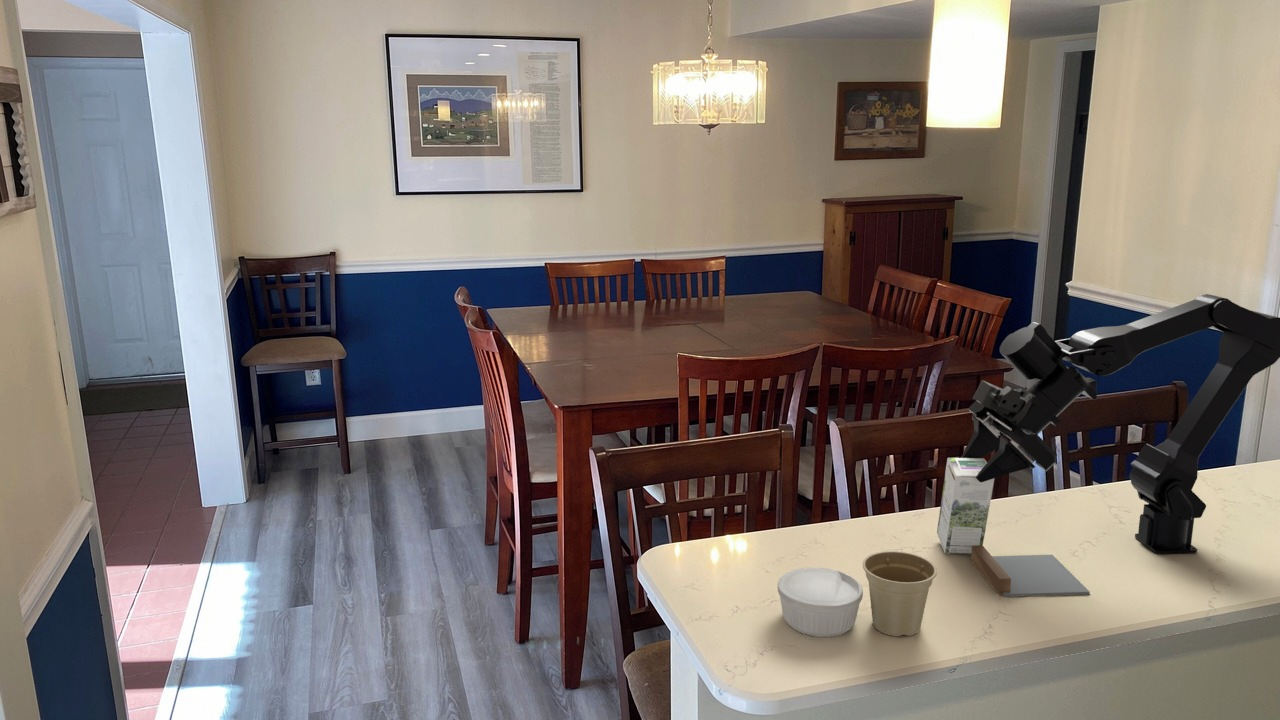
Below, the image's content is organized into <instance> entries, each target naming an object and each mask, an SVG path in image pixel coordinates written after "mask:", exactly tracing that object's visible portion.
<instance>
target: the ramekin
mask: <svg viewBox="0 0 1280 720" xmlns="http://www.w3.org/2000/svg"><path fill="white" fill-rule="evenodd" d="M777 592H778V595H779V599H780V600H779V601H780V605H781V610H782V615H783V619H784V620H785V622H786V623H787V624H788V625H789V626H790V627H791V628H792V629H793V628H794V630H795V631H796V630H797V631H796V632H798V631H799V633H800V632H801V633H800V634H803V635H806V634H807V636H810V637H817V638H831V637H830V636H832V637H836V635H837V636H840V634H841V635H843V634H845V633H847V632H849V631H850V629H852V628H853V627H854V626H855V624H856V621H857V616H858V613H859V609H860V604H861V602H862V600H863V595H864V589H863V586H862V585H861V583H860V582H859V581H858V580H857V579H856V578H855V577H853V576H851V575H850V574H847V573H845V572H843V571H839V570H837V569H832V568H828V567H827V568H826V567H814V566H813V567H803V568H797V569H793V570H790V571H788V572H786V573H784V574H783V575H782V576H781V577H779V579H778V582H777Z"/></svg>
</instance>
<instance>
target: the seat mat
mask: <svg viewBox="0 0 1280 720" xmlns="http://www.w3.org/2000/svg"><path fill="white" fill-rule="evenodd" d="M991 556H992V555H991ZM992 557H993V558H994V559H995V560H996V562H997V563H998V564H999V565H1000V566H1001V567H1002V569H1003V570H1004V571H1005V572H1006V573H1007V574H1008V576H1009V577H1010V578H1011V587H1010V592H1003V595H1002V596H1003V597H1006V598H1009V597H1040V596H1043V597H1044V596H1047V597H1048V596H1076V595H1077V596H1078V595H1081V596H1082V595H1090V593H1091V591H1090V590H1089V589H1088V588H1087V587H1086V586H1085V585H1084V584H1083V583H1081V581H1079V579H1078V578H1076V577H1075V575H1074V574H1073V573H1072V572H1070V571H1069V569H1068V568H1067V567H1065V566H1064V564H1062V563H1061V561H1060V560H1059V559H1057V557H1055V556H1054V555H1053V554H1030V555H1029V554H1023V555H1022V554H1021V555H996V556H995V555H993V556H992Z"/></svg>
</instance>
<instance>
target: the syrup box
mask: <svg viewBox="0 0 1280 720" xmlns="http://www.w3.org/2000/svg"><path fill="white" fill-rule="evenodd" d="M987 462H988V461H987V460H986V459H985V458H984V457H982V458H961V457H947V461H946V465H945V472H944V481H943V487H942V495H941V501H940V508H939V516H938V520H937V522H938V523H937V528H936V534H937V537H938V539H939V542H940V545H941V547H942V549H943V552H944V554H946V555H966V556H967V555H969V556H970V555H971V554H972V546H975V545H983V546H984V540H985V535H986V530H987V529H986V528H987V522H988V516H989V512H990V507H991V500H992V496H993V491H994V490H993V489H994V482H995V478H993V479H990V480H987V481H984V482H979V481H978V480H977V479H976V476H977V475H978V473H979V472H980V471H981V469H982V468H983V467H984V466H985V465H986V464H987Z"/></svg>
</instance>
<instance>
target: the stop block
mask: <svg viewBox="0 0 1280 720" xmlns="http://www.w3.org/2000/svg"><path fill="white" fill-rule="evenodd" d="M970 559H971V560H970V561H971V563H973V565H974V566H975V567H976V569H977V571H979V573H980V574H981V575H982V576H983V578H984V579H985V580H986V581H987V583H988V584H989V585H990V586H991V588H993V590H994V591H995V592H996V593H997V595H998V596H1003V592H1010V587H1011V578H1010V577H1009V576H1008V574H1007V573H1006V572H1005V571H1004V570H1003V569H1002V567H1001V566H1000V565H999V564H998V563H997V562H996V560H995V559H994V558H993V557H992V555H991V554H990V552H989V551H988V550H987V549H986V548H985V547H984V544H983V545H975V546H972V554H971V557H970Z"/></svg>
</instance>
